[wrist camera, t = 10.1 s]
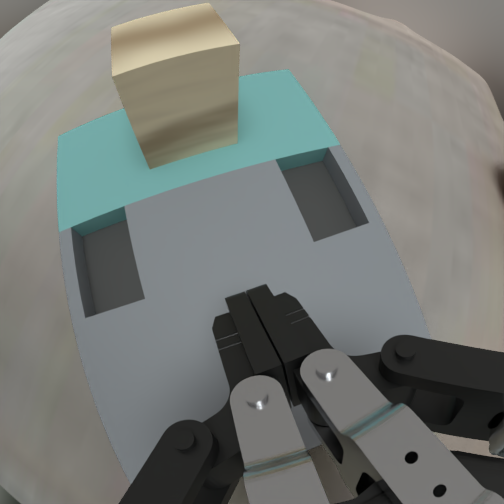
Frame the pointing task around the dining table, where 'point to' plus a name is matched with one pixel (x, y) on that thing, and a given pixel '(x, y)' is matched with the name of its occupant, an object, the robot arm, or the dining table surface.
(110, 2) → the dining table surface
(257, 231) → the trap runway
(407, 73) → the dining table surface
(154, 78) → the maple block
